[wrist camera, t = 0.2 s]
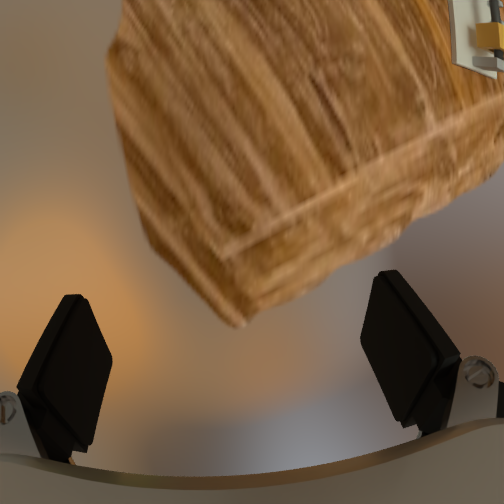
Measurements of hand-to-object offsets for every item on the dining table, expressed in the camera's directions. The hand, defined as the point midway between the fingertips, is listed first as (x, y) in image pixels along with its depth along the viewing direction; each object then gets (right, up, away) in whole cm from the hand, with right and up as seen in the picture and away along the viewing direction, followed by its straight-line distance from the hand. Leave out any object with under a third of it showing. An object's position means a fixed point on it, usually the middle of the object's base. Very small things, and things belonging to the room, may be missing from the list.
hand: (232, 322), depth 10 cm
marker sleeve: (+35, +34, +17) cm, 52 cm away
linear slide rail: (+35, +39, +18) cm, 55 cm away
